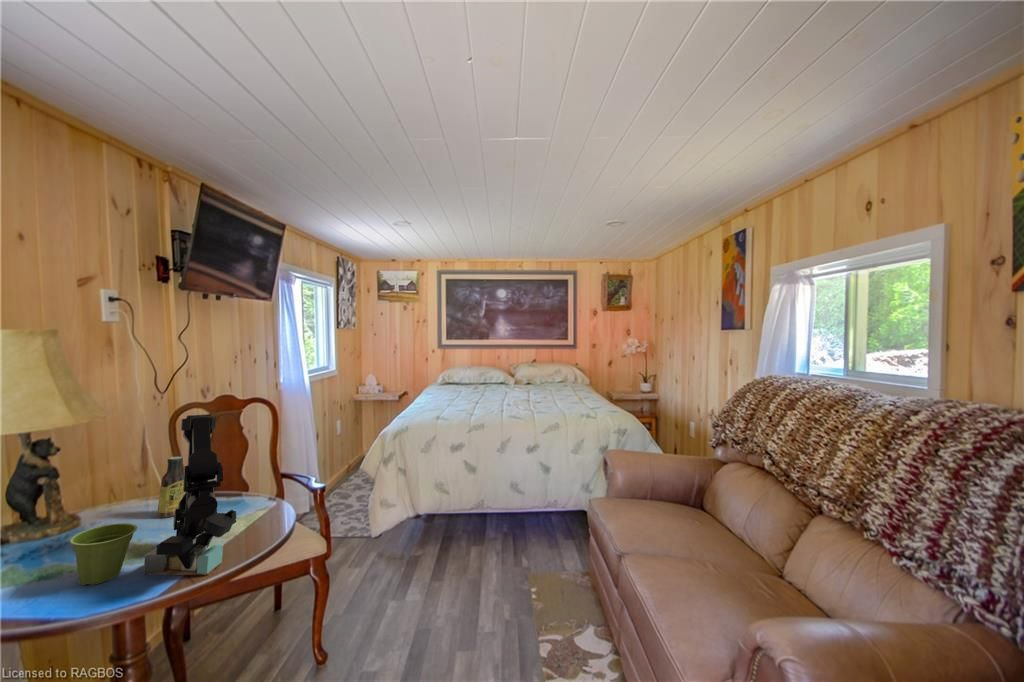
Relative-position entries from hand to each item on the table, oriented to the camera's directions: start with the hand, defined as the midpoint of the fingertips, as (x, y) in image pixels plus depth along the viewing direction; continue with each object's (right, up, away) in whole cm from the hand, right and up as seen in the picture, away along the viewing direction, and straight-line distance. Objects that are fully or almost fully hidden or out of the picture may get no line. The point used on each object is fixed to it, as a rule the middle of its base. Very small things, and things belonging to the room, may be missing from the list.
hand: (194, 564), depth 102 cm
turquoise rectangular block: (+4, -1, 0) cm, 4 cm away
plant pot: (-19, 0, -5) cm, 20 cm away
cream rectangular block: (-2, -1, 0) cm, 2 cm away
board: (-2, -1, 0) cm, 3 cm away
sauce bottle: (-35, -1, +31) cm, 46 cm away
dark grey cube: (-8, 0, -1) cm, 8 cm away
